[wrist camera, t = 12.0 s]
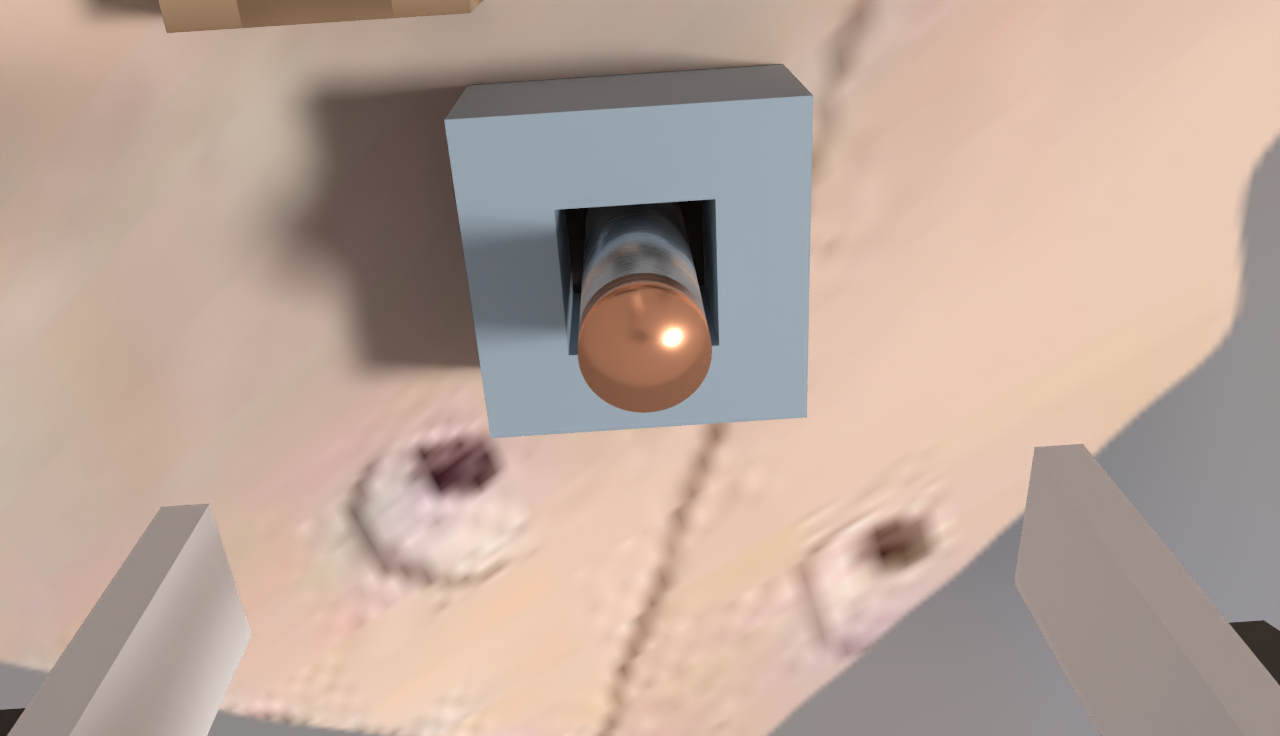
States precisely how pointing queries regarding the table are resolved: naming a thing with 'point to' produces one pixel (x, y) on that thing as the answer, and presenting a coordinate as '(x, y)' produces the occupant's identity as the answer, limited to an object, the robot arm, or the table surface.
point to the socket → (626, 175)
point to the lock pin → (641, 308)
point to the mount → (295, 12)
